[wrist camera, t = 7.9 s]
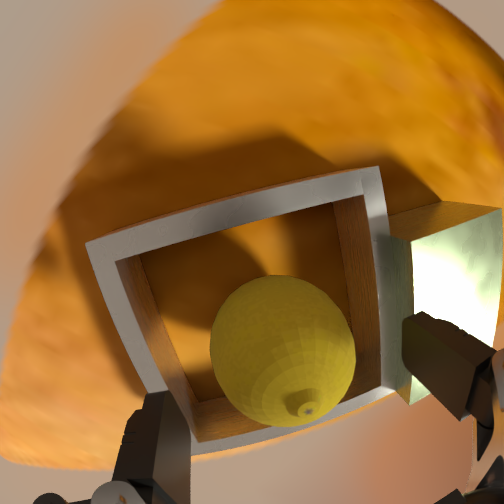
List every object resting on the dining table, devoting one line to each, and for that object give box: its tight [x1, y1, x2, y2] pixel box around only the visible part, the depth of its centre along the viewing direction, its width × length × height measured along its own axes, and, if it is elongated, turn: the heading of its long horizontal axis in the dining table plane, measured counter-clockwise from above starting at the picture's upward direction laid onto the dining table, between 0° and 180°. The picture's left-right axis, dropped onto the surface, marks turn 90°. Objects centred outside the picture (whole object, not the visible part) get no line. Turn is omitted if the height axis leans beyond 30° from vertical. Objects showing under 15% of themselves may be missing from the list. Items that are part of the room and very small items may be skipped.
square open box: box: [85, 166, 503, 456], centre depth 13 cm, size 19×12×5 cm, turn 104°
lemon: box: [210, 275, 356, 427], centre depth 11 cm, size 6×6×8 cm
